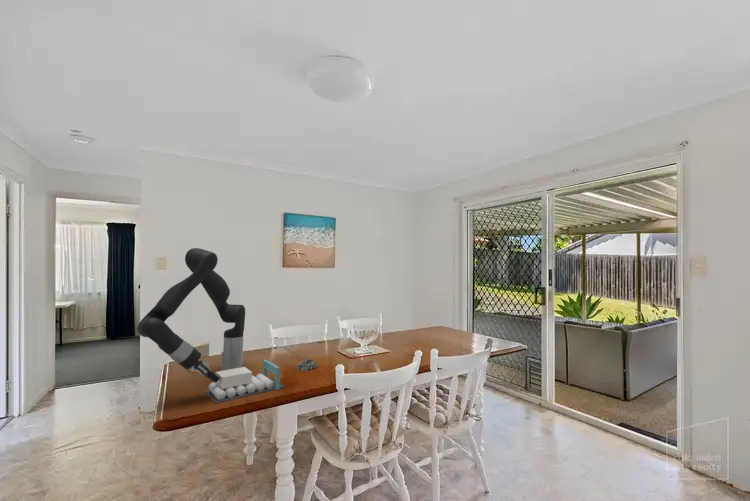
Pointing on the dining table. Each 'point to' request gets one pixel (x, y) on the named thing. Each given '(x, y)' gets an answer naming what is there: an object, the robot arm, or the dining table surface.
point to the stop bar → (272, 371)
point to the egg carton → (306, 365)
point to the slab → (234, 377)
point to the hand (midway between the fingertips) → (217, 380)
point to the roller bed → (242, 389)
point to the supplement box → (204, 351)
